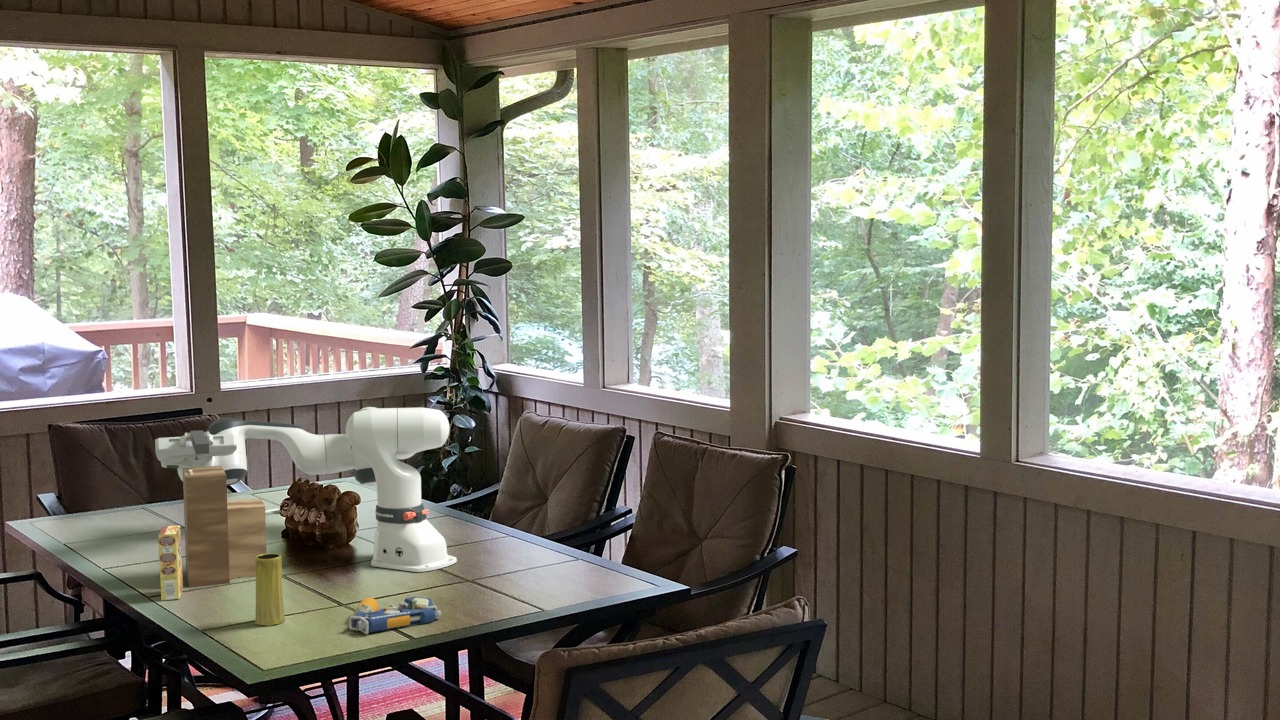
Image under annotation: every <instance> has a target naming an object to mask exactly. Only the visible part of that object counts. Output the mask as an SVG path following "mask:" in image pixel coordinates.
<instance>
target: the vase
mask: <svg viewBox="0 0 1280 720" xmlns="http://www.w3.org/2000/svg"><path fill="white" fill-rule="evenodd" d="M255 564H256V576H255V620H254V623H255V625H257V624H258V625H257V626H260V625H264V626H263V627H270V626H269V625H273V626H276V625H275V624H278V625H281V624H282V622H283V623H285V621H286V618H285V610H284V598H283V573H282V572H283V569H282V554H280V553H276V552H274V553H272V552H269V553H268V552H267V554H261V555H258V556H256V557H255ZM280 623H281V624H280Z"/></svg>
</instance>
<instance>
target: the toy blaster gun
mask: <svg viewBox="0 0 1280 720" xmlns="http://www.w3.org/2000/svg"><path fill="white" fill-rule="evenodd" d="M379 607H380V606H379V602H377V600H376V599H375V598H373V597H364V598H363V599H362V600H361V601H360V602H359V604H358V605H357V606H356V608H355V609H354V612H353V615H351V616H349V617H348V629H349V630H350V631H360V632H361V633H363V634H365V635H368V634H369V633H376V632H383V631H390V630H394V629H395V628H396V629H401V628H406V627H412V625H413V626H418V625H417V624H419V625H423V624H424V623H425V624H431V623H434V620H437V619H436V618H440V617H441V616H442V610H438V607H437V605H434V603H433V600H432V598H429V597H428V598H427V597H421V596H412V597H407V598H405V599H404V601H400V602H398V608H397V606H395V605H394V604H390V605H389V607H385V608H380V609H379ZM352 621H353V624H352ZM400 627H401V628H400ZM389 629H390V630H389Z"/></svg>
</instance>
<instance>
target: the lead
mask: <svg viewBox="0 0 1280 720" xmlns="http://www.w3.org/2000/svg"><path fill="white" fill-rule="evenodd" d="M204 432H205V431H204V430H190V431H189V433H191V442H192V445H193V447H194V450H195V453H196V454H209V443H208V441H207V438H206V436H205V434H204Z"/></svg>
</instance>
